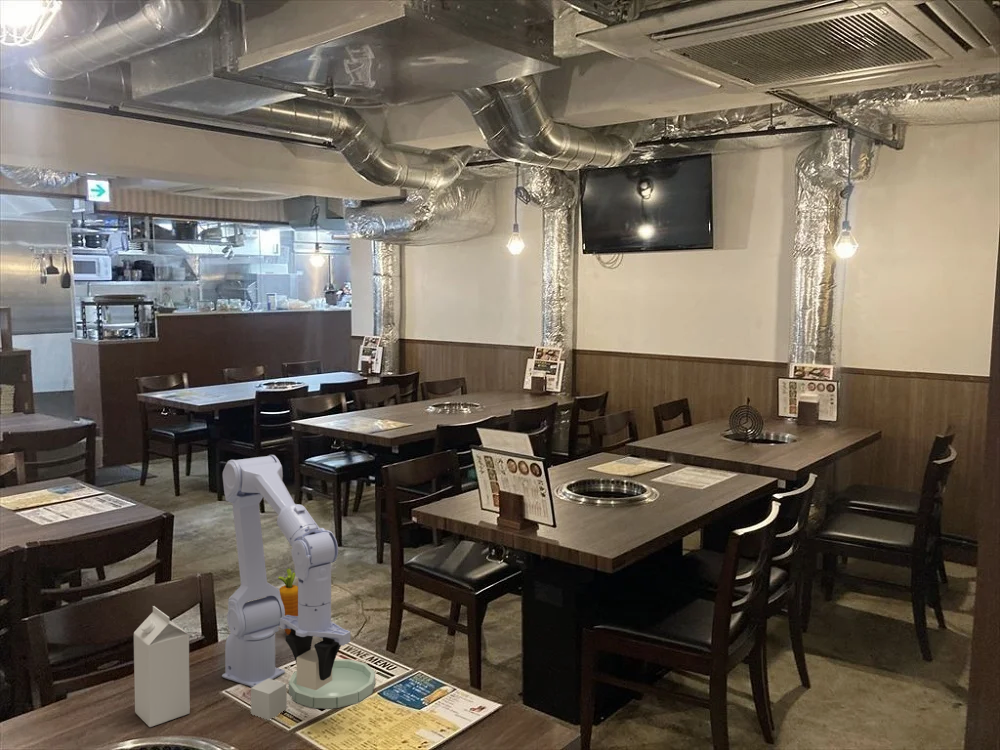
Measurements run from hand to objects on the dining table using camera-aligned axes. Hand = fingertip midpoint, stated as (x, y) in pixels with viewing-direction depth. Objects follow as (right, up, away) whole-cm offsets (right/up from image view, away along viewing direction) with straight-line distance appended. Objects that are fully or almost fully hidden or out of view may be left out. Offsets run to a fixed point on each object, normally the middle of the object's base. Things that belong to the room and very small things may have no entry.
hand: (314, 674), depth 140 cm
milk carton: (-28, -8, +2) cm, 29 cm away
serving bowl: (+1, -7, +13) cm, 15 cm away
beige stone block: (0, -1, 0) cm, 1 cm away
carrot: (-14, -5, +36) cm, 39 cm away
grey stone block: (-9, -8, +3) cm, 13 cm away
